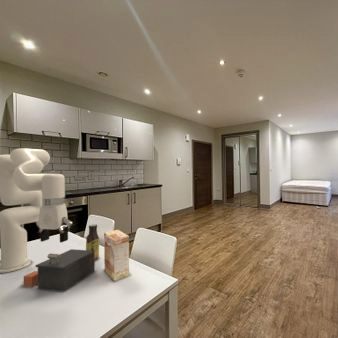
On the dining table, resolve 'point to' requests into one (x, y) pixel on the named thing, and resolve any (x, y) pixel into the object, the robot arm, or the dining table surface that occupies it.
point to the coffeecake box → (116, 254)
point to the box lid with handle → (64, 259)
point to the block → (31, 279)
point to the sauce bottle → (93, 240)
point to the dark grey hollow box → (66, 274)
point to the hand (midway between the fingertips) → (54, 240)
